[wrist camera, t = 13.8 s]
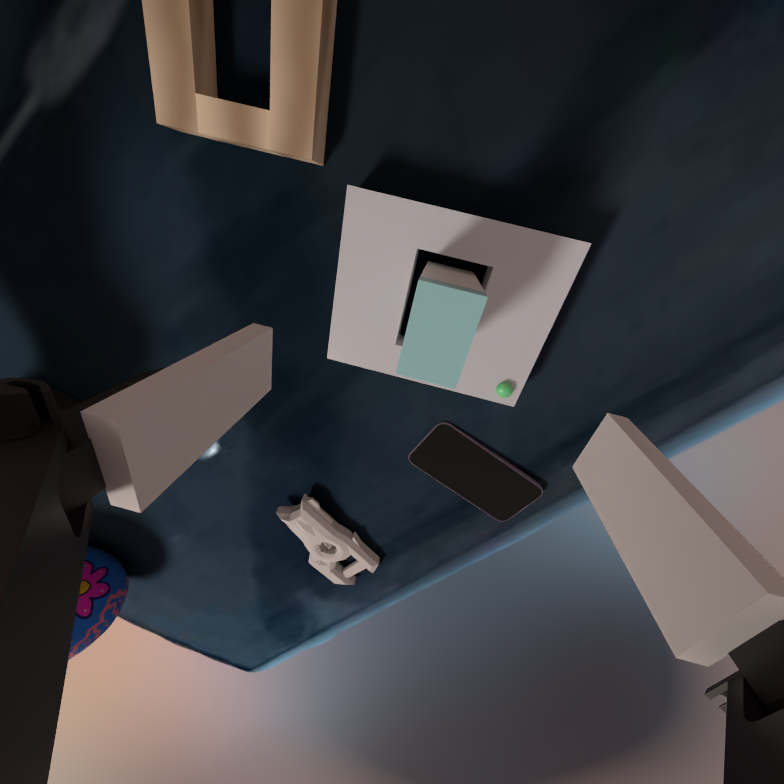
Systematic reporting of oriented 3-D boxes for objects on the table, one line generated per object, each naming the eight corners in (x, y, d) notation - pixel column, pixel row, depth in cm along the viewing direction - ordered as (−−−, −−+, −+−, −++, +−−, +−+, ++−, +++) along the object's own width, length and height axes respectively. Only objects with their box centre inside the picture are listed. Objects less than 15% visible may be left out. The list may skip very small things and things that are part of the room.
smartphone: (442, 419, 34) (547, 491, 36) (442, 414, 35) (545, 485, 37) (404, 459, 37) (502, 524, 39) (405, 454, 38) (501, 517, 40)
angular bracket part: (253, 529, 43) (304, 504, 39) (265, 508, 46) (313, 483, 42) (340, 596, 49) (391, 580, 46) (345, 574, 52) (393, 557, 48)
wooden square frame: (181, 131, 26) (156, 123, 23) (159, -108, 20) (123, -149, 18) (323, 165, 25) (311, 160, 23) (343, -69, 19) (329, -106, 17)
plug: (411, 326, 30) (395, 373, 21) (428, 261, 27) (418, 279, 18) (452, 337, 30) (455, 389, 20) (473, 271, 27) (487, 297, 17)
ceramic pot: (57, 511, 55) (-66, 600, 42) (154, 554, 56) (66, 654, 43) (60, 560, 63) (-42, 648, 50) (145, 597, 65) (68, 691, 52)
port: (336, 347, 32) (325, 359, 29) (357, 189, 26) (345, 184, 23) (508, 392, 32) (514, 409, 29) (576, 241, 25) (593, 243, 22)
